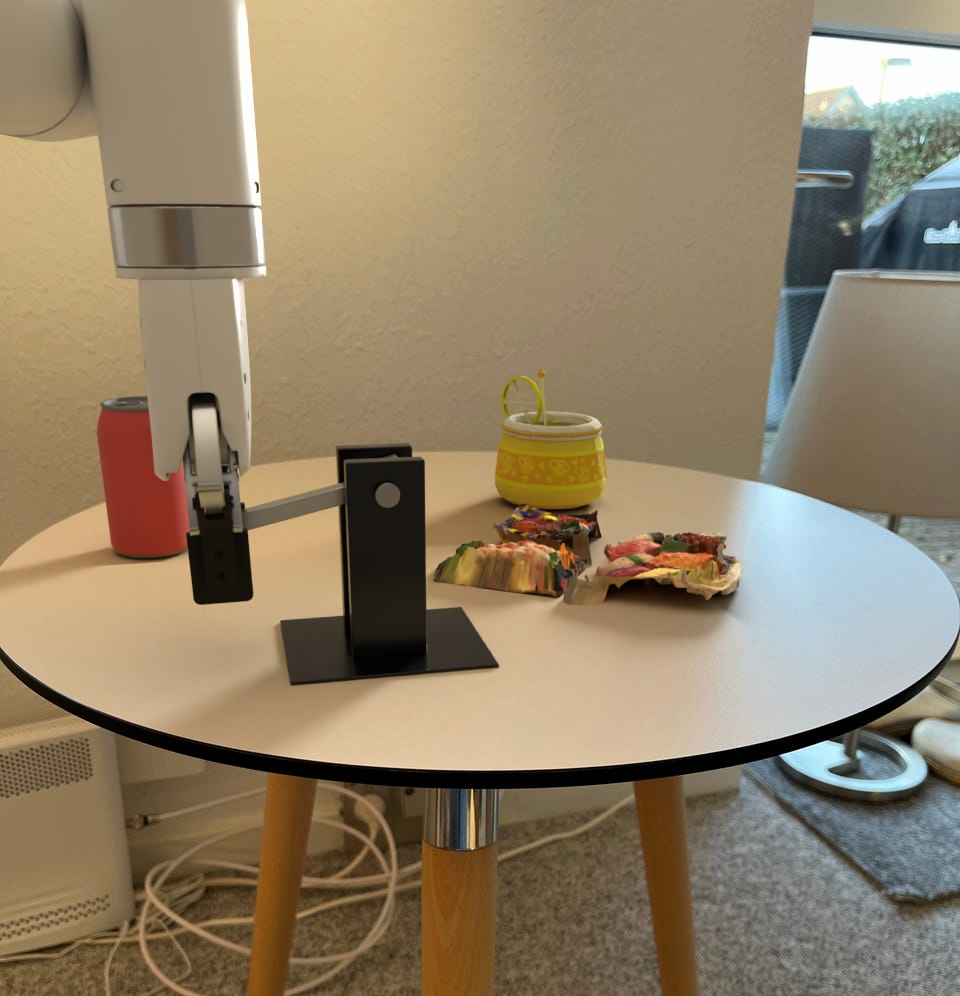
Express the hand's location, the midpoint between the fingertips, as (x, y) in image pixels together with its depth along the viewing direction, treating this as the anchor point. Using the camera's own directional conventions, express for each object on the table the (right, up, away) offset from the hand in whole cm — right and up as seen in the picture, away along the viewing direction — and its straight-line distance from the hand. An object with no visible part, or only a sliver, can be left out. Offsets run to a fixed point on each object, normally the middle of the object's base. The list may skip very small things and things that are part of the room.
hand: (223, 581), depth 59 cm
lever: (+5, +3, 0) cm, 6 cm away
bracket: (+9, -5, +4) cm, 11 cm away
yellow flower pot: (+21, +10, +42) cm, 49 cm away
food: (+24, +1, +19) cm, 30 cm away
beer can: (-12, +4, +25) cm, 28 cm away
